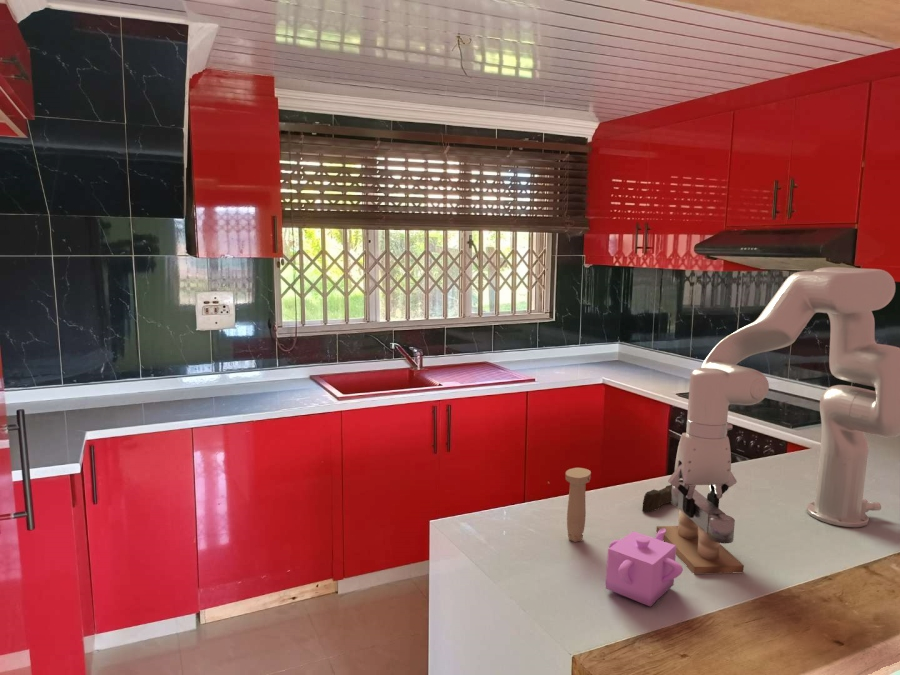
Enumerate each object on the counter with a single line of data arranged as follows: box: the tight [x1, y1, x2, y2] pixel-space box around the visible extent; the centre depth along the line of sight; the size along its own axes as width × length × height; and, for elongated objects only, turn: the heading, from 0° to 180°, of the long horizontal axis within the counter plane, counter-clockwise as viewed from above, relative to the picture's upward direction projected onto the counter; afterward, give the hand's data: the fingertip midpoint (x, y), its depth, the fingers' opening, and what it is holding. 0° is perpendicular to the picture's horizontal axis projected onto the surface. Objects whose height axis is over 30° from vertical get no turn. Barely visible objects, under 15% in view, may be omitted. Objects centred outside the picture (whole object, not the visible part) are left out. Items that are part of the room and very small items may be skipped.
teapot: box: [605, 529, 684, 607], centre depth 116 cm, size 18×14×10 cm
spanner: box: [670, 482, 736, 544], centre depth 131 cm, size 5×21×4 cm, turn 5°
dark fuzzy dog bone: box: [641, 479, 683, 513], centre depth 158 cm, size 19×4×5 cm, turn 128°
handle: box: [565, 467, 592, 543], centre depth 136 cm, size 5×6×15 cm
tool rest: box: [655, 508, 745, 575], centre depth 132 cm, size 10×18×7 cm, turn 5°
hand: (700, 513), depth 131 cm, fingers open, 4 cm apart
